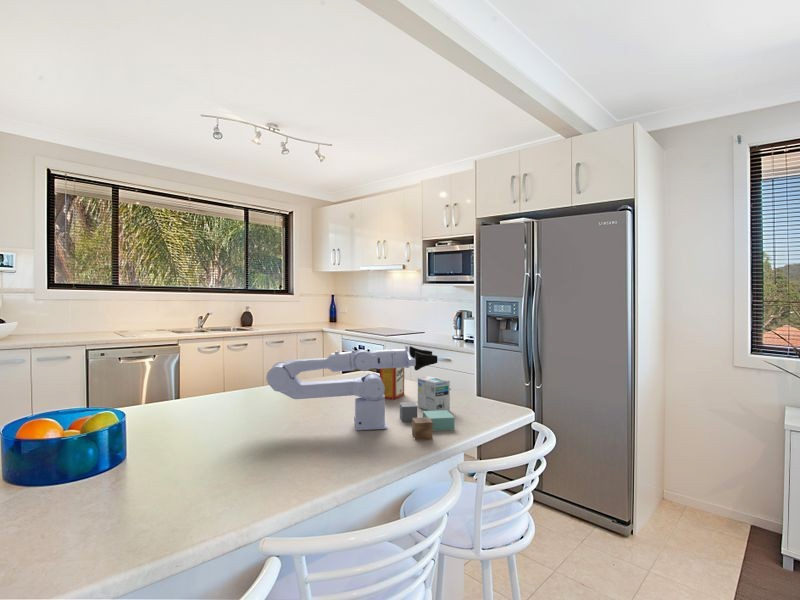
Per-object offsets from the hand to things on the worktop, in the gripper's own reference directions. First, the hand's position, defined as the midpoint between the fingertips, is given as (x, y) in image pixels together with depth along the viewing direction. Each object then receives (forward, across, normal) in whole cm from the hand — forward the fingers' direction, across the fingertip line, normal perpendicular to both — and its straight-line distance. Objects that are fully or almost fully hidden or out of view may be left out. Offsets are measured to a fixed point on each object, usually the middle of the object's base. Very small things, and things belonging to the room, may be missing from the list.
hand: (434, 356), depth 135 cm
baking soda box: (-10, +36, +22) cm, 43 cm away
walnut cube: (-6, -12, +21) cm, 25 cm away
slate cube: (-8, +5, +21) cm, 23 cm away
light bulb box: (+3, +16, +22) cm, 27 cm away
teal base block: (0, -3, +21) cm, 22 cm away
